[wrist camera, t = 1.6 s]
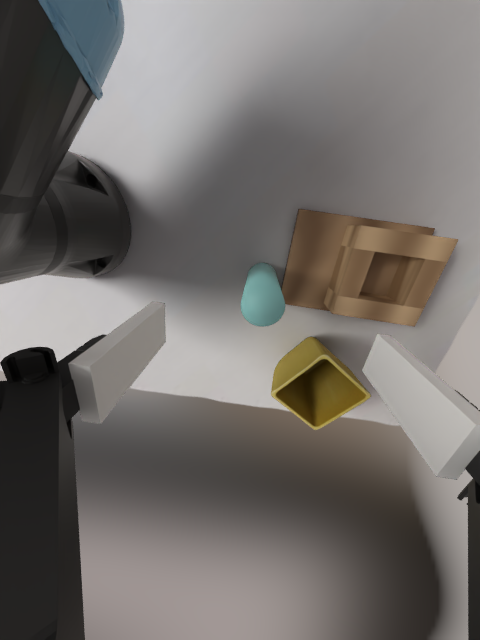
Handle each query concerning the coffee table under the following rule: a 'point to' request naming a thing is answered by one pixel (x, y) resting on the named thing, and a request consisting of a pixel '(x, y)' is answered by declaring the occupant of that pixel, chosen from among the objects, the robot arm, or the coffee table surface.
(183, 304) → the coffee table surface
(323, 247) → the socket board
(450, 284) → the coffee table surface
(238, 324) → the coffee table surface
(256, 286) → the peg
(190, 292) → the coffee table surface
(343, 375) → the flower pot
